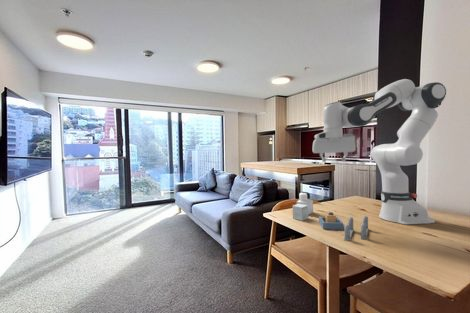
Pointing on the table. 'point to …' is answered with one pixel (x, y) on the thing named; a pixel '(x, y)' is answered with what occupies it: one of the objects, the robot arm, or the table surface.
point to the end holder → (331, 224)
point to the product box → (300, 212)
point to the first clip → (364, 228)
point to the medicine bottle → (306, 201)
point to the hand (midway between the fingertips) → (333, 161)
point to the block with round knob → (330, 217)
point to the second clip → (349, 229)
